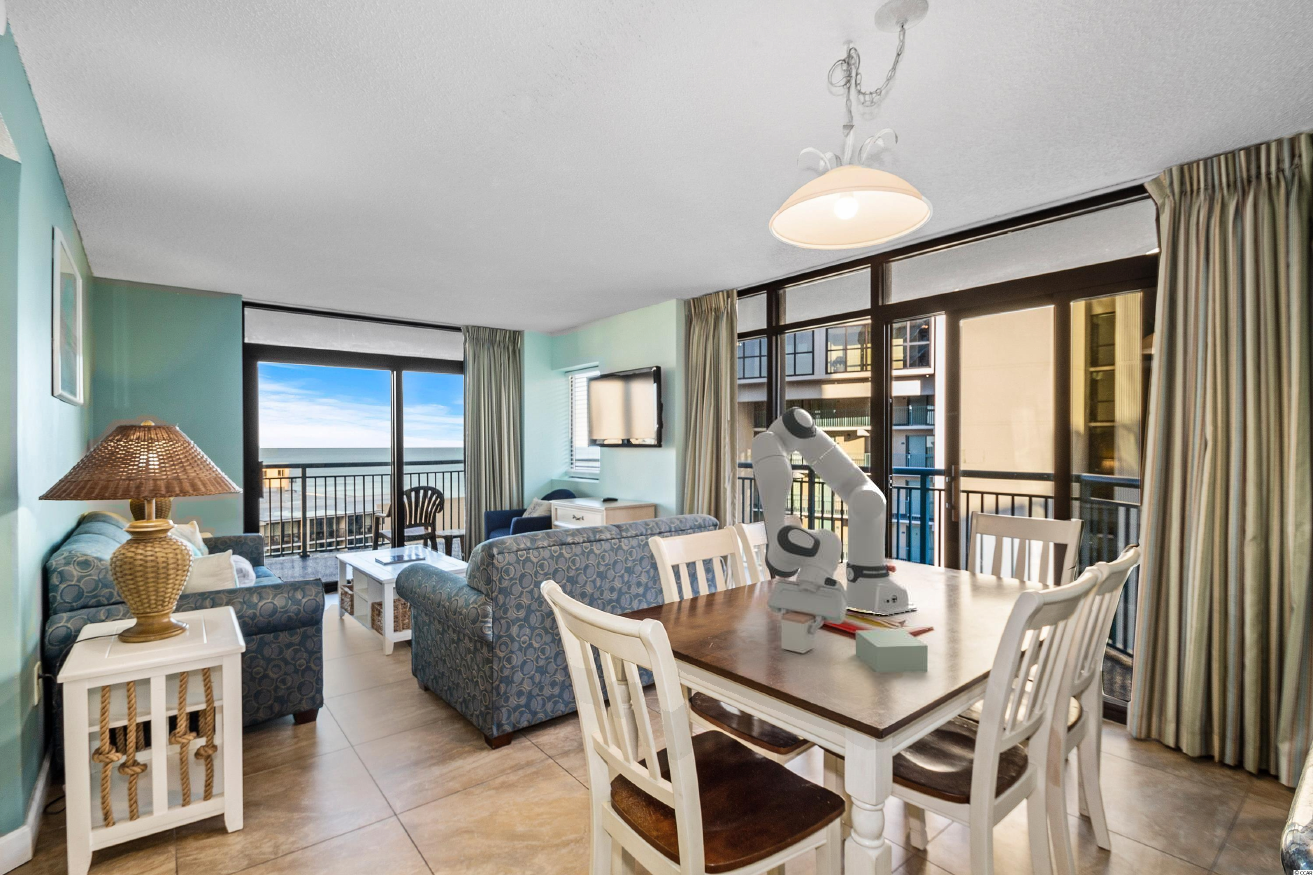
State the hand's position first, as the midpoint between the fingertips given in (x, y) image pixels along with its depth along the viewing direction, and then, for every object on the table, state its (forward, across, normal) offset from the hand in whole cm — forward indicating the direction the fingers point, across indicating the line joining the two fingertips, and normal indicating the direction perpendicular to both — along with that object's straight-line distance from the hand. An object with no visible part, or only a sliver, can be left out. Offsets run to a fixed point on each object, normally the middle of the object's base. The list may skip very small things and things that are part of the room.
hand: (796, 630), depth 156 cm
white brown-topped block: (+3, 0, +4) cm, 4 cm away
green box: (-1, +21, +8) cm, 23 cm away
